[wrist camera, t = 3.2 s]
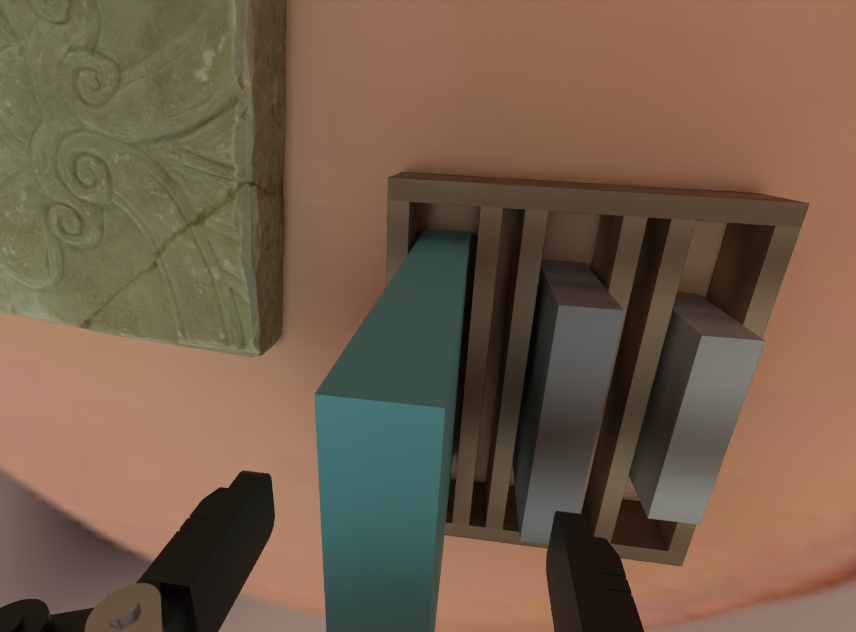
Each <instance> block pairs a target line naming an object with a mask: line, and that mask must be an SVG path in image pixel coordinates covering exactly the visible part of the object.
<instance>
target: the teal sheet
mask: <svg viewBox="0 0 856 632" xmlns="http://www.w3.org/2000/svg"><path fill="white" fill-rule="evenodd" d="M470 241H471V232H470V231H456V230H442V229H428V228H426V229H425V230H424V232H423V233H422V235H421V236H420V238H419V239H418V241H417V242H416V244H415V245H414V247H413V248H412V250H411V251H410V253H409V254H408V255H407V257H406V258H405V260H404V261H403V263H402V264H401V266H400V267H399V269H398V270H397V272H396V273H395V275H394V276H393V278H392V279H391V281H390V282H389V284H388V285H387V287H386V288H385V290H384V291H383V293H382V294H381V296H380V297H379V299H378V300H377V302H376V303H375V305H374V306H373V308H372V309H371V311H370V312H369V314H368V315H367V317H366V318H365V320H364V321H363V323H362V324H361V326H360V327H359V329H358V330H357V332H356V333H355V335H354V336H353V338H352V339H351V341H350V342H349V344H348V345H347V347H346V348H345V350H344V351H343V353H342V354H341V356H340V357H339V359H338V360H337V362H336V363H335V365H334V366H333V367H332V369H331V370H330V372H329V373H328V375H327V376H326V378H325V379H324V381H323V382H322V384H321V385H320V387H319V388H318V390H317V391H316V393H315V413H316V432H317V452H318V472H319V492H320V512H321V531H322V551H323V571H324V591H325V610H326V629H327V632H434V631H435V621H436V612H437V602H438V592H439V582H440V573H441V563H442V553H443V543H444V534H445V524H446V514H447V504H448V495H449V485H450V475H451V465H452V455H453V443H454V431H455V420H456V408H457V396H458V384H459V372H460V360H461V348H462V336H463V324H464V312H465V300H466V288H467V276H468V265H469V253H470Z"/></svg>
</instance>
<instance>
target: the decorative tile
mask: <svg viewBox="0 0 856 632" xmlns="http://www.w3.org/2000/svg"><path fill="white" fill-rule="evenodd" d="M285 29H286V0H0V312H2V313H7V314H12V315H17V316H22V317H28V318H33V319H38V320H43V321H49V322H54V323H59V324H64V325H69V326H75V327H80V328H86V329H88V330H91V331H95V332H102V333H107V334H112V335H118V336H124V337H130V338H136V339H143V340H149V341H155V342H161V343H166V344H172V345H177V346H183V347H190V348H196V349H203V350H210V351H217V352H224V353H230V354H236V355H243V356H250V357H253V356H260V355H263V354H264V353H265V352H266V351H267V350H268V349H270V348H271V347H272V346H273V345H274V344H275V343H276V342H277V341H278V339H279V338H280V337H281V332H282V301H283V289H282V269H283V235H284V218H283V196H282V195H281V194H282V193H283V168H284V141H285V113H286V102H285Z"/></svg>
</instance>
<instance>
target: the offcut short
mask: <svg viewBox="0 0 856 632" xmlns="http://www.w3.org/2000/svg"><path fill="white" fill-rule="evenodd" d="M764 343H765V341H764V340H763V339H762V338H760V337H759V336H757V335H756V334H755V333H753V332H752V331H750V330H749V329H748V328H746V327H745V326H743V325H742V324H741V323H739V322H738V321H736V320H735V319H734V318H732V317H731V316H729V315H728V314H726V313H725V312H724V311H722V310H721V309H719V308H718V307H717V306H715V305H714V304H712V303H711V302H710V301H708V300H707V299H705V298H704V297H703V296H701V295H700V294H690V293H678V292H677V294H676V298H675V301H674V305H673V309H672V313H671V316H670V320H669V324H668V328H667V332H666V335H665V339H664V343H663V347H662V350H661V354H660V358H659V362H658V366H657V369H656V373H655V377H654V381H653V384H652V388H651V392H650V396H649V400H648V403H647V407H646V411H645V415H644V418H643V422H642V426H641V430H640V433H639V437H638V441H637V445H636V449H635V452H634V456H633V460H632V464H631V467H630V471H629V477H630V479H631V481H632V483H633V486H634V488H635V490H636V493H637V495H638V497H639V500H640V502H641V504H642V506H643V509H644V511H645V513H646V516H647V518H649V519H657V520H665V521H674V522H682V523H690V524H698V525H700V523H701V520H702V518H703V515H704V512H705V509H706V506H707V503H708V501H709V498H710V495H711V492H712V489H713V487H714V484H715V481H716V478H717V475H718V472H719V470H720V467H721V464H722V461H723V458H724V456H725V453H726V450H727V447H728V444H729V441H730V439H731V436H732V433H733V430H734V427H735V425H736V422H737V419H738V416H739V413H740V410H741V408H742V405H743V402H744V399H745V396H746V394H747V391H748V388H749V385H750V382H751V379H752V377H753V374H754V371H755V368H756V365H757V363H758V360H759V357H760V354H761V351H762V348H763V346H764Z"/></svg>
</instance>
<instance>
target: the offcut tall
mask: <svg viewBox="0 0 856 632" xmlns="http://www.w3.org/2000/svg"><path fill="white" fill-rule="evenodd" d="M623 314H624V310H623V309H622V307H621V306H620V305H619V304H618V302H617V301H616V300H615V299H614V298H613V296H612V295H611V294H610V293H609V292H608V290H607V289H606V288H605V287H604V285H603V284H602V283H601V282H600V281H599V279H598V278H597V277H596V276H595V274H594V273H593V272H592V271H591V270H590V268H589V267H588V266H587V265H586V264H585V263H581V262H568V261H555V260H541V267H540V274H539V281H538V287H537V294H536V301H535V308H534V315H533V322H532V329H531V336H530V343H529V350H528V357H527V364H526V371H525V377H524V384H523V391H522V398H521V405H520V412H519V419H518V426H517V433H516V440H515V447H514V454H513V470H514V481H515V492H516V503H517V514H518V525H519V536H520V541H524V542H532V543H540V544H548V545H549V540H550V535H551V530H552V525H553V519H554V515H555V512H556V511H563V512H571V513H579V511H580V506H581V502H582V497H583V493H584V488H585V484H586V479H587V475H588V470H589V466H590V461H591V457H592V452H593V448H594V443H595V439H596V435H597V430H598V426H599V421H600V417H601V412H602V408H603V403H604V399H605V394H606V390H607V385H608V381H609V376H610V372H611V367H612V363H613V358H614V354H615V349H616V345H617V340H618V336H619V331H620V327H621V323H622V318H623Z"/></svg>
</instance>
